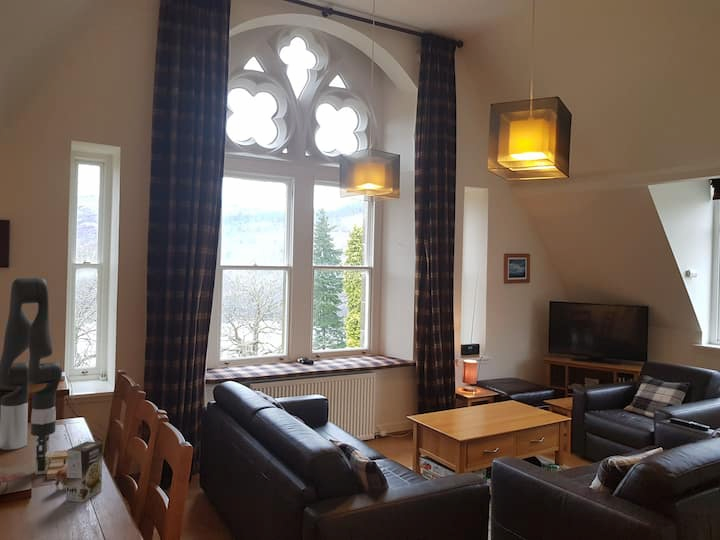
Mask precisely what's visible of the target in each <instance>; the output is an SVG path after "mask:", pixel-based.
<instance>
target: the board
mask: <svg viewBox="0 0 720 540" xmlns="http://www.w3.org/2000/svg"><path fill="white" fill-rule="evenodd" d="M59 455H68V449H67V450H56V451H55V450H54V451H53V453H52V456H59ZM65 467H67V459H66V464H64V459H63V460H53V461H50V463H49V465H48V472H47V473H46V480H47V479H49V480H56V479H55V478H56V477H55V475H56V473H57V471H59V470H60V469H62V468H65Z"/></svg>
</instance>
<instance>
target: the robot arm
mask: <svg viewBox="0 0 720 540" xmlns="http://www.w3.org/2000/svg"><path fill="white" fill-rule="evenodd" d="M9 297H10V300H9V311H8V312H9V313H8V318H7V322H6V328H5V331H4V332H5V333H4V340H3V348H2V354H1V356H0V388H13V387H17V388H16V389H15V390H13V391H12V392H10V393H8V394H5V395H3V396H2V397H1V399H0V450H7V451H9V450H18V449H22V448H25V447H26V446H27V445H28V415H29V412H28V411H29V388H30V387H29V386H30V384H31V385H43V384H45V386H44V387H43V388H41V389H39V390H36V391H34V392H33V393H32V402H31V403H32V405H31V407H32V408H31V416H30V434H31V435H32V436H33V437H37V438H36V440H35V453H36V456H37V458H36V457H35V461H36V460H37V461H38V471H44V470H45V459H46V453H48V452H49V449H50V441H51V439H50V435H53V434H55V432H56V420H57V419H56V417H57V416H56V415H57V413H56V395H57V392H58V387H59V384H60V382H61V379H62V376H63V375H62V374H63V369H62V367H61V365H60V363H58V362H47V363H46V362H44V363H40V362H41V360H42V359H47V358H48V357H50V356H51V355H52V354H53V345H52V338H51V332H50V325H49V324H50V308H49V307H50V306H49V305H50V303H49V288H48V283H47V281H46V279H44V278H43V277H23V278H16V279H14V280H13V281H12V284H11V289H10V296H9ZM25 304H37V314H36V315H35V318H34V320H33V321H31V319H30V318H29V317H28V316H27V314H26V313H25V312H24V310H23V308H22V306H23V305H25ZM27 349H28V350H29V361H28V362H24V361H23V362H15V361H16V359H18V358H19V357H20V356H21V355H22V354H23V353H24V352H25V351H27ZM39 455H43V457H39Z"/></svg>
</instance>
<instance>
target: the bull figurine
mask: <svg viewBox="0 0 720 540" xmlns="http://www.w3.org/2000/svg"><path fill="white" fill-rule="evenodd" d="M55 477H56V479H55V481H56V482H55V483H54V485H55V491H56V490H57V492H59V491H60V488H59V484H60V485H61V488H62V489H64V488H66V481H67V467H65V468H62V469H60V470H59V471H57V473H56V475H55ZM58 490H59V491H58Z"/></svg>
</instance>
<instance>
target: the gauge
mask: <svg viewBox="0 0 720 540" xmlns="http://www.w3.org/2000/svg"><path fill="white" fill-rule="evenodd" d="M39 457H43V455H39ZM67 457H68V455H59V456H53V455H50V453H49V451H48V453H46V459H45V470H44V471H38V461H37V460H36V458H37V455H36V456H35V475H42V474H47V472H48V469H49V462H51V461H53V460H63V459H64V464H66V459H67Z"/></svg>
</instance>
